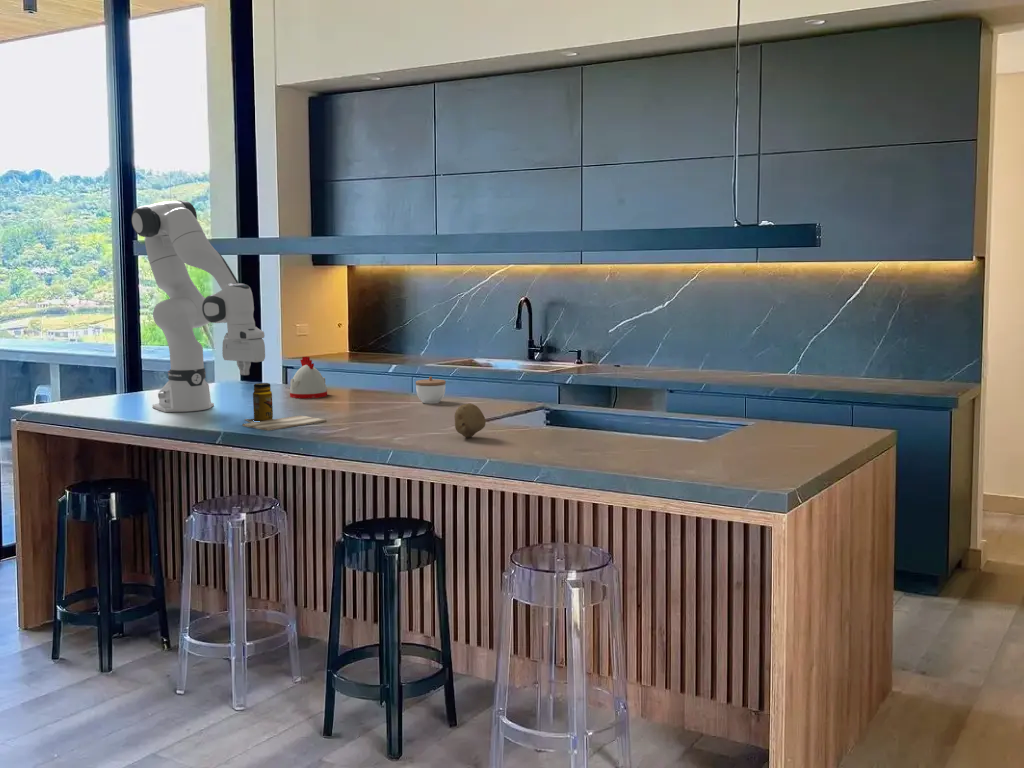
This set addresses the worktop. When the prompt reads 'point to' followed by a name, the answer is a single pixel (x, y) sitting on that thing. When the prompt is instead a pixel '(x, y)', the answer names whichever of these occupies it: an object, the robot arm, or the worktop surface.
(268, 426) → the wooden cutting board
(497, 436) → the worktop surface
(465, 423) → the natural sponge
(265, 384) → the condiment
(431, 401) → the lidded jar
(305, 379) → the kitchen timer
